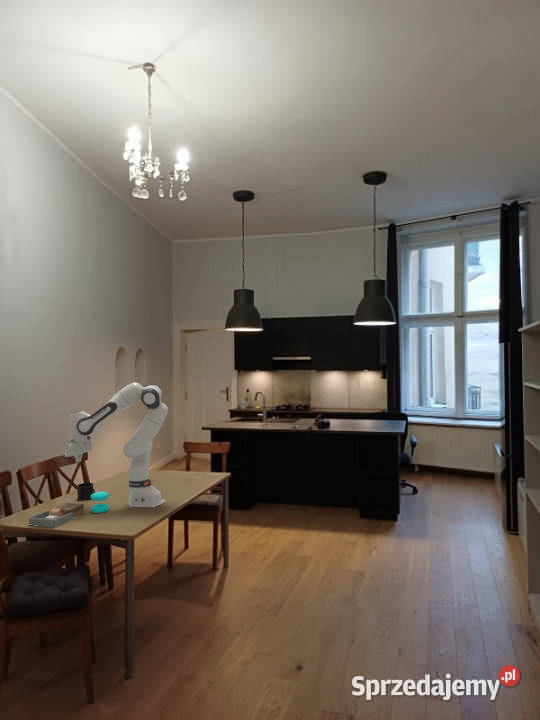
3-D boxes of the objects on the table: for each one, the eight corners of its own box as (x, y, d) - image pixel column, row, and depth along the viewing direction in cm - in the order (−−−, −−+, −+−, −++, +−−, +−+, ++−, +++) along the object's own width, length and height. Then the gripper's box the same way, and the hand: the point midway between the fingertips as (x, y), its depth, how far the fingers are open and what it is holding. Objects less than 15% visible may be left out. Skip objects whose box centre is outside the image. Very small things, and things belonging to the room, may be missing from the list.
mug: (89, 501, 317) (89, 487, 317) (74, 500, 322) (73, 485, 322) (100, 497, 326) (99, 483, 326) (84, 496, 330) (84, 482, 330)
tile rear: (60, 508, 280) (57, 511, 278) (63, 515, 282) (61, 518, 280) (52, 508, 282) (50, 511, 280) (56, 515, 284) (53, 518, 282)
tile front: (52, 518, 275) (52, 522, 275) (59, 515, 279) (59, 519, 279) (45, 517, 276) (45, 521, 276) (51, 514, 281) (52, 518, 281)
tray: (72, 520, 280) (72, 512, 280) (54, 528, 267) (53, 520, 267) (47, 517, 286) (47, 510, 286) (28, 525, 273) (28, 517, 273)
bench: (83, 513, 293) (83, 504, 293) (68, 519, 282) (68, 510, 282) (67, 511, 297) (67, 502, 297) (52, 517, 285) (52, 508, 285)
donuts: (97, 490, 303) (112, 491, 300) (97, 508, 303) (112, 509, 300) (86, 495, 293) (102, 496, 290) (87, 513, 293) (102, 514, 290)
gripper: (70, 441, 297) (71, 465, 297) (93, 436, 316) (93, 458, 316) (61, 441, 299) (62, 465, 299) (84, 435, 318) (85, 458, 318)
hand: (78, 461), depth 308 cm, fingers closed
